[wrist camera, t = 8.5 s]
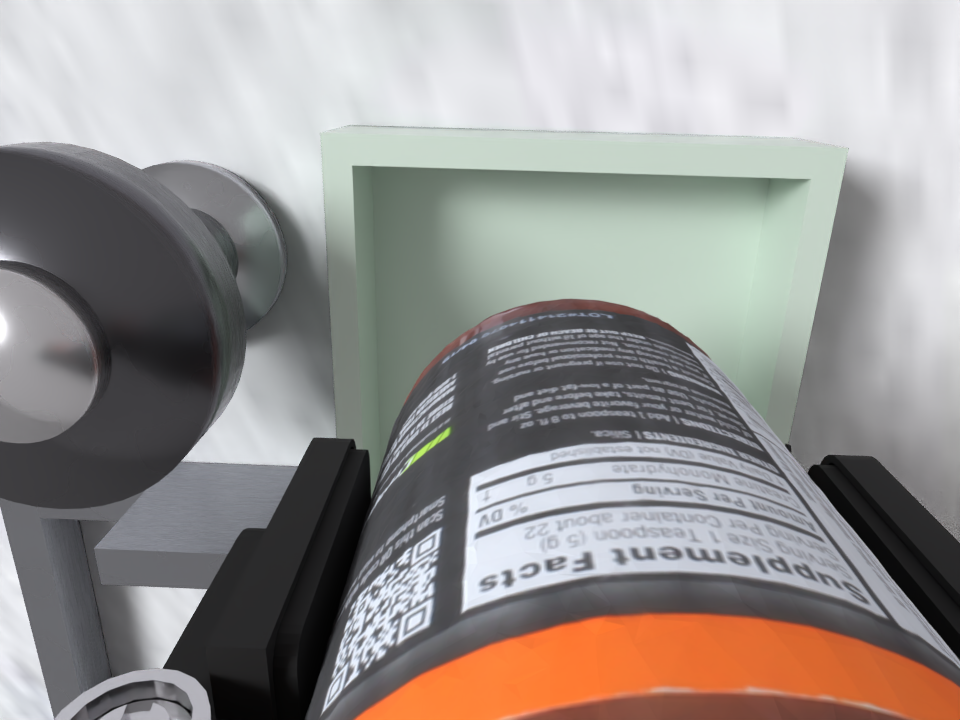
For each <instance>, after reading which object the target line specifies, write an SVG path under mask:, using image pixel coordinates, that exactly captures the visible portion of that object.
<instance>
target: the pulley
mask: <svg viewBox="0 0 960 720" xmlns="http://www.w3.org/2000/svg"><path fill="white" fill-rule="evenodd" d="M286 268H287V253H286V246H285V241H284V237H283V233H282V230H281V228H280V226H279V223H278V221H277V219H276V217H275V215H274V213H273V212H272V210H271V208H270V207H269V206H268V204H267V203H266V201H265V200H264V199H263V198H262V197H261V196H260V194H259V193H258V192H257V191H256V190H255V189H254V188H253V187H251V186H250V185H249V184H248V183H247V182H246V181H244V180H243V179H241V178H240V177H238V176H237V175H235V174H233V173H231V172H229V171H228V170H226V169H224V168H221V167H218V166H215V165H213V164H209V163H204V162H200V161H190V160H184V161H172V162H167V163H162V164H158V165H153V166H150V167H147V168H144V169H142V170H141V169H139V168H137V167H135V166H133V165H131V164H129V163H127V162H125V161H123V160H121V159H119V158H116V157H113V156H111V155H108V154H105V153H102V152H100V151H97V150H94V149H89V148H85V147H81V146H76V145H72V144H63V143H52V142H36V143H20V144H12V145H3V146H0V498H2V499H6V500H9V501H12V502H16V503H21V504H25V505H30V506H35V507H43V508H54V509H83V508H90V507H98V506H104V505H107V504H111V503H115V502H119V501H122V500H125V499H127V498H129V497H132V496H134V495H137V494H139V493H141V492H143V491H145V490H146V489H148V488H150V487H151V486H153V485H155V484H156V483H158V482H159V481H160V480H162V479H163V478H164V477H165V476H166V475H168V474H169V473H170V472H171V471H172V470H174V468H175V467H176V466H177V465H178V464H179V463H180V462H181V460H182V459H183V458H184V457H185V456H186V455H187V454H188V452H189V451H190V450H191V449H192V448H193V447H194V445H195V444H196V443H197V442H198V441H199V440H200V439H201V437H202V436H203V435H204V434H205V433H206V432H207V430H208V429H209V428H210V427H211V426H212V425H213V424H214V422H215V421H216V420H217V419H218V418H219V417H220V415H221V414H222V413H223V411H224V410H225V408H226V407H227V405H228V403H229V402H230V400H231V399H232V397H233V394H234V392H235V390H236V388H237V385H238V383H239V380H240V377H241V373H242V369H243V365H244V360H245V351H246V330H248V329H250V328H251V327H252V326H253V325H254V324H256V323H257V322H258V321H259V320H260V319H261V318H262V317H263V316H264V315H265V314H266V313H267V312H268V311H269V310H270V309H271V307H272V306H273V305H274V303H275V301H276V300H277V298H278V297H279V294H280V292H281V290H282V287H283V284H284V280H285V276H286Z"/></svg>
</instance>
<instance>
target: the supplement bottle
mask: <svg viewBox="0 0 960 720" xmlns="http://www.w3.org/2000/svg"><path fill="white" fill-rule="evenodd" d="M305 720H960V659H959V658H958V657H957V656H956V655H955V654H954V653H953V652H952V650H951V649H950V648H949V647H948V645H947V644H946V643H945V642H944V640H943V639H942V638H941V637H940V636H939V634H938V633H937V632H936V631H935V630H934V629H933V627H932V626H931V625H930V624H929V623H928V622H927V620H926V619H925V618H924V617H923V615H922V614H921V613H920V612H919V611H918V609H917V608H916V607H915V606H914V604H913V603H912V602H911V601H910V599H909V598H908V597H907V596H906V595H905V594H904V592H903V591H902V590H901V589H900V588H899V586H898V585H897V584H896V583H895V582H894V581H893V579H892V578H891V577H890V576H889V574H888V573H887V571H886V570H885V569H884V567H883V566H882V565H881V563H880V562H879V561H878V559H877V558H876V557H875V556H874V554H873V553H872V552H871V551H870V550H869V548H868V547H867V546H866V545H865V543H864V542H863V541H862V540H861V539H860V537H859V536H858V535H857V534H856V532H855V531H854V530H853V529H852V528H851V526H850V525H849V524H848V523H847V522H846V521H845V520H844V518H843V517H842V516H841V515H840V514H839V512H838V511H837V510H836V509H835V507H834V506H833V505H832V504H831V503H830V501H829V500H828V499H827V497H826V496H825V494H824V493H823V492H822V491H821V489H820V488H819V487H818V486H817V485H816V484H815V483H814V482H813V480H812V479H811V478H810V477H809V475H808V474H807V473H806V472H805V470H804V469H803V468H802V467H801V465H800V464H799V463H798V462H797V461H796V459H795V458H794V457H793V456H792V454H791V446H790V445H789V444H786V443H785V445H784V444H783V443H782V442H781V441H780V439H779V438H778V437H777V436H776V435H775V433H774V432H773V431H772V430H771V428H770V427H769V426H768V425H767V423H766V422H765V421H764V419H763V418H762V417H761V415H760V414H759V413H758V412H757V411H756V410H755V408H754V407H753V406H752V405H751V404H750V403H749V401H748V400H747V399H746V397H745V396H744V394H743V393H742V392H741V391H740V390H739V389H738V387H737V386H736V385H735V384H734V383H733V382H732V381H731V380H730V379H729V378H728V377H727V376H726V374H725V373H724V372H723V371H722V370H721V369H720V368H719V367H718V366H717V365H716V364H715V363H714V362H713V361H712V360H711V359H710V357H709V356H708V355H707V354H706V353H705V352H704V351H703V350H702V349H701V348H699V347H698V346H697V345H696V344H695V343H694V342H692V340H691V339H690V338H689V337H687V336H685V335H684V334H682V333H681V332H679V331H678V330H677V329H675V328H674V327H673V326H671V325H670V324H669V323H666V322H664V321H662V320H661V319H659V318H657V317H655V316H652V315H649V314H647V313H646V312H644V311H640V310H637V309H634V308H631V307H628V306H625V305H620V304H616V303H610V302H605V301H600V300H586V299H559V300H552V301H540V302H535V303H531V304H527V305H522V306H518V307H514V308H511V309H509V310H506V311H503V312H500V313H497V314H494V315H492V316H490V317H488V318H487V319H485V320H483V321H482V322H481V323H479V324H478V325H477V326H475V327H473V328H471V329H469V330H468V331H466V332H464V333H463V334H461V335H460V336H459V337H457V338H456V339H455V340H454V341H452V342H451V343H449V344H448V345H446V347H445V348H444V349H443V350H442V351H441V352H440V353H439V354H438V355H437V356H436V357H435V358H434V359H433V360H432V361H431V362H430V364H429V365H428V366H427V367H426V368H425V369H424V370H423V372H422V373H421V374H420V376H419V378H418V379H417V381H416V383H415V384H414V386H413V388H412V390H411V391H410V393H409V394H408V396H407V398H406V400H405V403H404V405H403V407H402V409H401V411H400V413H399V415H398V417H397V419H396V420H395V423H394V426H393V429H392V432H391V435H390V438H389V441H388V445H387V449H386V452H385V455H384V458H383V462H382V465H381V468H380V471H379V475H378V479H377V482H376V485H375V488H374V491H373V494H372V498H371V502H370V506H369V508H368V511H367V513H366V516H365V519H364V523H363V526H362V530H361V533H360V537H359V541H358V544H357V547H356V551H355V554H354V558H353V561H352V564H351V567H350V570H349V573H348V576H347V580H346V584H345V587H344V590H343V593H342V596H341V599H340V603H339V607H338V612H337V615H336V617H335V620H334V622H333V626H332V630H331V635H330V637H329V639H328V643H327V646H326V650H325V654H324V658H323V662H322V666H321V669H320V673H319V676H318V680H317V683H316V686H315V689H314V692H313V695H312V698H311V703H310V705H309V708H308V710H307V713H306V716H305Z"/></svg>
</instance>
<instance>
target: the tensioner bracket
mask: <svg viewBox="0 0 960 720" xmlns="http://www.w3.org/2000/svg"><path fill="white" fill-rule="evenodd" d="M297 468H298V467H293V466H268V465H243V464H218V463H193V462H180V463H179V464H178V465H177V466H176V467H175V468H174V470H172V471H171V472H170V473H169V474H168V475H166V476H165V477H164V478H163V479H162V480H160V481H159V482H158V483H156V484H155V485H153V486H151V487H150V488H148V489H146V490H145V491H143V492H141V493H139V494H137V495H134V496H132V497H129V498H127V499H125V500H122V501H119V502H115V503H111V504H107V505H104V506H98V507H90V508H83V509H54V508H43V507H35V506H30V505H25V504H21V503H16V502H12V501H9V500H6V499H2V498H0V507H1V511H2V515H3V519H4V523H5V527H6V531H7V535H8V539H9V543H10V547H11V551H12V555H13V558H14V562H15V566H16V570H17V574H18V578H19V582H20V586H21V590H22V594H23V598H24V602H25V606H26V610H27V613H28V617H29V621H30V625H31V629H32V633H33V637H34V641H35V645H36V649H37V653H38V657H39V661H40V665H41V669H42V672H43V676H44V680H45V684H46V688H47V692H48V696H49V700H50V704H51V708H52V712H53V716H54V719H55V718H56V716H57V715H58V714H59V713H60V712H61V710H62V709H64V708H65V707H66V706H67V705H68V704H70V703H71V702H72V701H73V700H75V699H76V698H77V697H78V696H80V695H81V694H82V693H83V692H85V691H87V690H89V689H91V688H93V687H94V686H96V685H98V684H100V683H102V682H104V681H105V680H107V679H110V678H112V677H111V673H110V668H109V663H108V658H107V653H106V649H105V644H104V639H103V634H102V630H101V625H100V620H99V615H98V611H97V606H96V601H95V596H94V592H93V587H92V582H91V577H90V572H89V568H88V563H87V558H86V553H85V549H84V544H83V539H82V534H81V530H80V525H79V520H98V521H118V522H117V523H116V524H115V525H114V526H113V527H112V529H111V530H110V531H109V532H108V533H107V534H106V535H105V536H104V538H103V539H102V540H101V541H100V542H99V543H98V544H97V545H96V547H95V548H94V552H95V557H96V562H97V567H98V571H99V576H100V581H101V584H103V585H126V586H148V587H171V588H194V589H208V588H209V586H210V584H211V583H212V581H213V579H214V577H215V576H216V574H217V572H218V570H219V569H220V567H221V565H222V563H223V562H224V560H225V558H226V556H227V555H228V553H229V551H230V549H231V548H232V546H233V544H234V542H235V541H236V539H237V537H238V536H239V534H240V533H241V532H242V531H243V530H244V529H246V528H267V526H268V524H269V522H270V520H271V518H272V516H273V514H274V512H275V511H276V509H277V507H278V505H279V503H280V501H281V499H282V497H283V495H284V493H285V491H286V489H287V487H288V485H289V483H290V481H291V480H292V478H293V476H294V474H295V472H296V470H297Z"/></svg>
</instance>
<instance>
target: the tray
mask: <svg viewBox="0 0 960 720" xmlns="http://www.w3.org/2000/svg"><path fill="white" fill-rule="evenodd" d="M320 136H321V154H322V173H323V192H324V211H325V229H326V248H327V267H328V286H329V305H330V323H331V342H332V361H333V380H334V399H335V417H336V436H337V438H339V439H354V441H355V444H356V449H366V450H368V451H369V456H370V478H371V498H372V494H373V491H374V488H375V485H376V482H377V479H378V475H379V471H380V468H381V465H382V462H383V458H384V455H385V452H386V449H387V445H388V441H389V438H390V435H391V432H392V429H393V426H394V423H395V420H396V419H397V417H398V415H399V413H400V411H401V409H402V407H403V405H404V403H405V400H406V398H407V396H408V394H409V393H410V391H411V390H412V388H413V386H414V384H415V383H416V381H417V379H418V378H419V376H420V374H421V373H422V372H423V370H424V369H425V368H426V367H427V366H428V365H429V364H430V362H431V361H432V360H433V359H434V358H435V357H436V356H437V355H438V354H439V353H440V352H441V351H442V350H443V349H444V348H445V347H446V345H448V344H449V343H451V342H452V341H454V340H455V339H456V338H457V337H459V336H460V335H461V334H463V333H464V332H466V331H468V330H469V329H471V328H473V327H475V326H477V325H478V324H479V323H481V322H482V321H483V320H485V319H487V318H488V317H490V316H492V315H494V314H497V313H500V312H503V311H506V310H509V309H511V308H514V307H518V306H522V305H527V304H531V303H535V302H540V301H552V300H559V299H586V300H600V301H605V302H610V303H616V304H620V305H625V306H628V307H631V308H634V309H637V310H640V311H644V312H646V313H647V314H649V315H652V316H655V317H657V318H659V319H661V320H662V321H664V322H666V323H669V324H670V325H671V326H673V327H674V328H675V329H677V330H678V331H679V332H681V333H682V334H684V335H685V336H687V337H689V338H690V339H691V340H692V342H694V343H695V344H696V345H697V346H698V347H699V348H701V349H702V350H703V351H704V352H705V353H706V354H707V355H708V356H709V357H710V359H711V360H712V361H713V362H714V363H715V364H716V365H717V366H718V367H719V368H720V369H721V370H722V371H723V372H724V373H725V374H726V376H727V377H728V378H729V379H730V380H731V381H732V382H733V383H734V384H735V385H736V386H737V387H738V389H739V390H740V391H741V392H742V393H743V394H744V396H745V397H746V399H747V400H748V401H749V403H750V404H751V405H752V406H753V407H754V408H755V410H756V411H757V412H758V413H759V414H760V415H761V417H762V418H763V419H764V421H765V422H766V423H767V425H768V426H769V427H770V428H771V430H772V431H773V432H774V433H775V435H776V436H777V437H778V438H779V439H780V441H781V442H782V443H783V444H784V445H785V443H786V444H788V443H789V438H790V433H791V428H792V423H793V419H794V414H795V409H796V404H797V399H798V394H799V389H800V384H801V379H802V375H803V370H804V365H805V360H806V355H807V350H808V345H809V340H810V335H811V330H812V326H813V321H814V316H815V311H816V306H817V301H818V296H819V291H820V286H821V282H822V277H823V272H824V267H825V262H826V257H827V252H828V247H829V242H830V238H831V233H832V228H833V223H834V218H835V213H836V208H837V203H838V198H839V194H840V189H841V184H842V179H843V174H844V169H845V164H846V159H847V154H848V150H849V148H845V147H840V146H835V145H829V144H824V143H819V142H813V141H808V140H802V139H797V138H780V137H745V136H710V135H675V134H640V133H605V132H570V131H535V130H500V129H465V128H430V127H395V126H360V125H349V126H345V127H341V128H337V129H333V130H329V131H325V132H322V133H320Z"/></svg>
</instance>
